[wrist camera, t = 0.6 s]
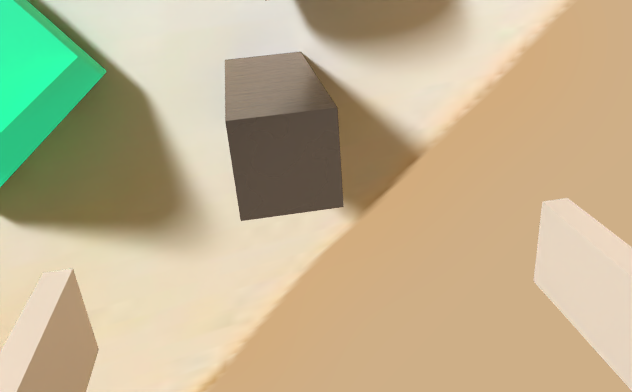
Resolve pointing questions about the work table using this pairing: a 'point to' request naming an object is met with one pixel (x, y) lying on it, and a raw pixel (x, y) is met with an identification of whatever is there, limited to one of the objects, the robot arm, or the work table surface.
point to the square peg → (281, 137)
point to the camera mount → (36, 81)
